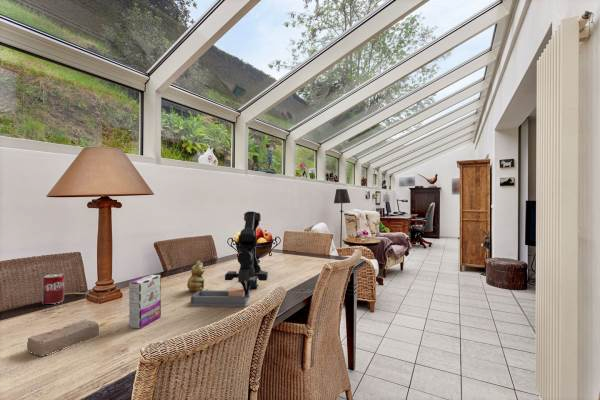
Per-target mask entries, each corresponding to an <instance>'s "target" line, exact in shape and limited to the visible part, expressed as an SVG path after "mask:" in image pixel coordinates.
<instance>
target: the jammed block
mask: <svg viewBox="0 0 600 400" xmlns="http://www.w3.org/2000/svg"><path fill="white" fill-rule="evenodd" d="M228 291H229V292H228V296H232V297H244V294H245V292H244V289H243V287H231V288H230V289H228Z"/></svg>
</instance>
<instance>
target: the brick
mask: <svg viewBox="0 0 600 400" xmlns="http://www.w3.org/2000/svg"><path fill="white" fill-rule="evenodd" d="M99 334H100V325H99V323H98V322H96V321H93V320H90V319H83V320H80V321H77V322H74V323H72V324H68V325H66V326H63V327H62V328H58V329H52V330H51V331H47V332H42V333H38V334H35V335H32V336H29V337H28V338H27V342H26V349H27V351H28V353H30V352H32V353H35V354H36V355H35V354H34V355H35V356H38V355H40V356H39V357H41V356H43V355H47V354H50V353H52V352H55V351H57V350H60V349H63V348H65V347H68V346H70V347H72V346H71V345H73V344H75V345H77V344H79V343H78V342H80V341H82V342H84V341H83V340H85V341H87V340H90V339H92V338H94V337H96V336H99ZM89 338H90V339H89ZM86 339H87V340H86ZM76 343H77V344H76ZM80 343H81V342H80ZM73 346H74V345H73ZM68 348H69V347H68ZM65 349H66V348H65ZM63 350H64V349H63ZM60 351H61V350H60ZM32 353H31V354H32ZM55 353H56V352H55ZM50 355H51V354H50ZM47 356H48V355H47ZM43 357H44V356H43Z"/></svg>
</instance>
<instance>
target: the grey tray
mask: <svg viewBox="0 0 600 400" xmlns="http://www.w3.org/2000/svg"><path fill="white" fill-rule="evenodd" d="M228 292H229V290H213V289H211V290H209V289H207V290H204V289H202V290H198V291H197V292H194V294H192V295H191V296H190V302H189V306H190V307H233V308H234V307H235V308H236V307H238V308H239V307H241V308H242V307H246V306H247V304H248V301H249V300H250V299H251V295H250V291H249V292H248V295H245V294H244V297H232V296H228Z"/></svg>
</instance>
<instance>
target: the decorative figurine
mask: <svg viewBox="0 0 600 400" xmlns="http://www.w3.org/2000/svg"><path fill="white" fill-rule="evenodd" d="M203 265H204V263H203V262H201V260H198V261H196V263H195V264H194V265H193V266H192V267H191V269H190V272H191V276H190V277H189V278H188V281H187V285H186V286H187V289H188V290H189V291H191V293H196V292H197V291H198V290H204V288H205V279H204V276H203V274H204V273H205V267H204V266H203Z"/></svg>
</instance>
